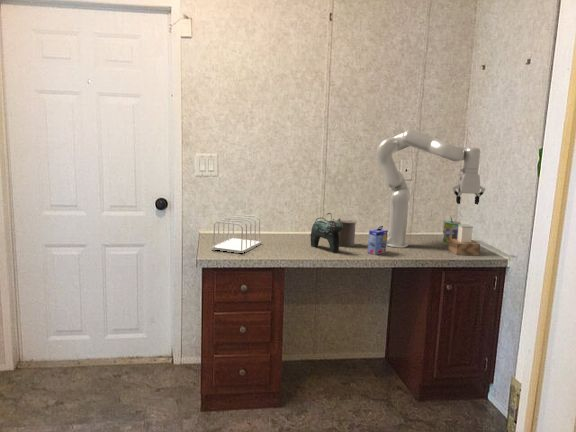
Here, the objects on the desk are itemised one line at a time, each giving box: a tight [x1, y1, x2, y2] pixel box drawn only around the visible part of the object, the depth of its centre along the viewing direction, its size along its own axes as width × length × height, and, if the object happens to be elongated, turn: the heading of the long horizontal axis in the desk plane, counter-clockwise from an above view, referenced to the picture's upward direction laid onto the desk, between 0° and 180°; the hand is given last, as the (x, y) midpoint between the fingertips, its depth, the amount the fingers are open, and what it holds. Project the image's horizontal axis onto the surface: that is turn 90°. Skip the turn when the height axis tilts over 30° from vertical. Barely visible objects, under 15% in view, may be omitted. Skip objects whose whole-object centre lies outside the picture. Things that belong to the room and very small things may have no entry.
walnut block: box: [448, 239, 481, 256], centre depth 270 cm, size 12×12×6 cm
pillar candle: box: [338, 219, 356, 248], centre depth 277 cm, size 10×10×15 cm
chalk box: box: [441, 216, 462, 243], centre depth 296 cm, size 9×9×15 cm
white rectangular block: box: [457, 223, 474, 243], centre depth 269 cm, size 6×6×9 cm
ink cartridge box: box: [367, 225, 389, 256], centre depth 262 cm, size 10×6×14 cm, turn 136°
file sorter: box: [211, 213, 262, 254], centre depth 265 cm, size 25×17×16 cm
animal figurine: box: [310, 212, 343, 254], centre depth 265 cm, size 20×6×20 cm, turn 41°
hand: (467, 203), depth 266 cm, fingers open, 9 cm apart
